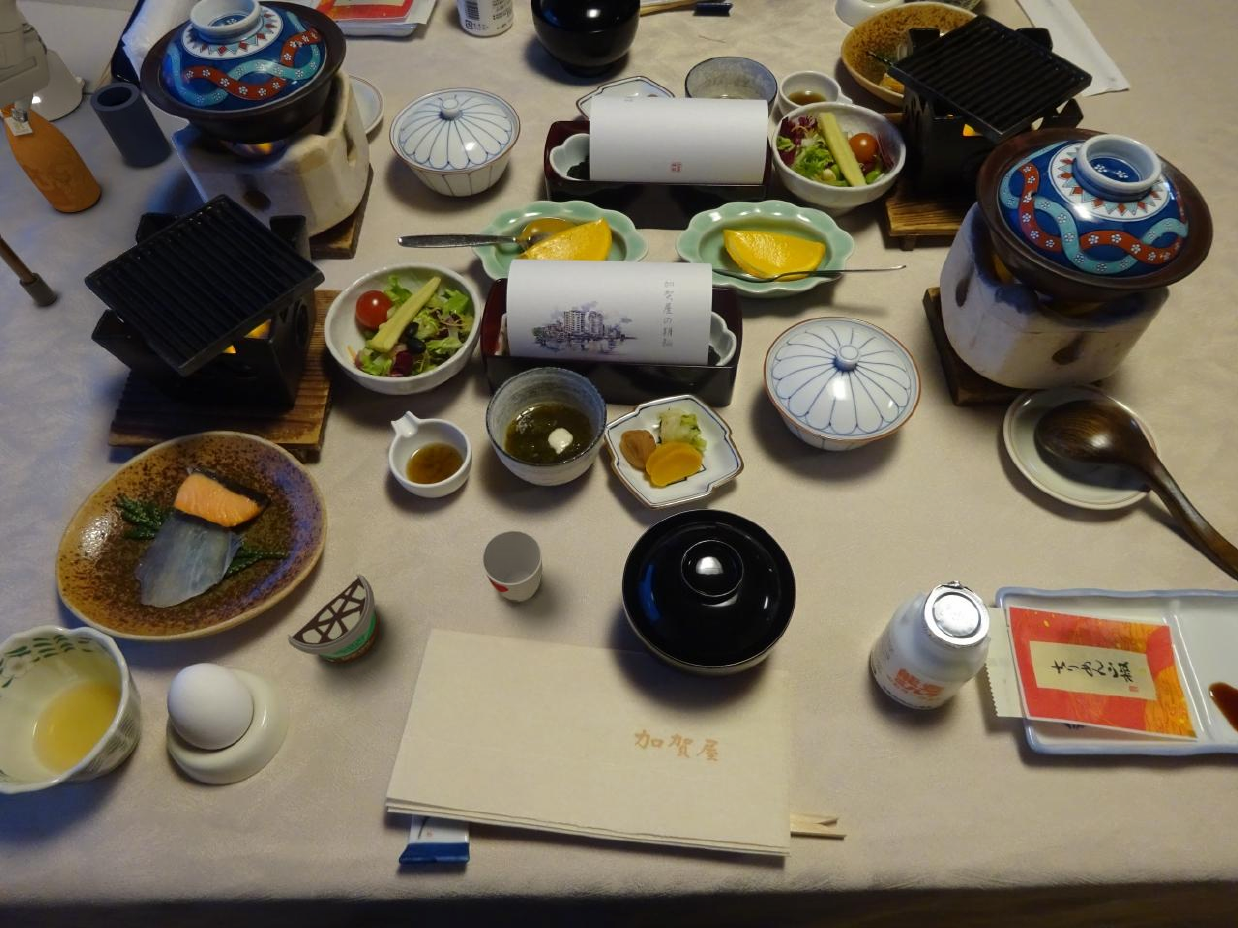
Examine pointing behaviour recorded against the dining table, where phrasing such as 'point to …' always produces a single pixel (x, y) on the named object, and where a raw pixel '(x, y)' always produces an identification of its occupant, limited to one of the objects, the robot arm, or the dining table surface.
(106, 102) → the dark gray hollow cylinder
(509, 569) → the cup
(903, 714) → the dining table surface
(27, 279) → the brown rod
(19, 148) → the wine bottle
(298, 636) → the food container
